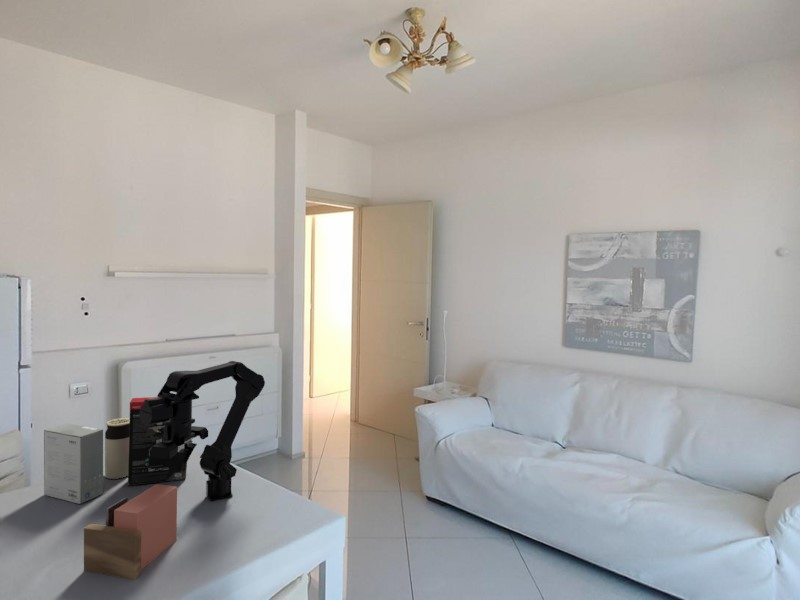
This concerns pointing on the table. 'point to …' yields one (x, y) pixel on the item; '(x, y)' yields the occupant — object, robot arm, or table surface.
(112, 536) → the shelf wall
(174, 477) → the graphics card box
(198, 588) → the table surface
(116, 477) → the travel mug
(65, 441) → the hard drive box
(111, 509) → the bookend
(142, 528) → the book box
